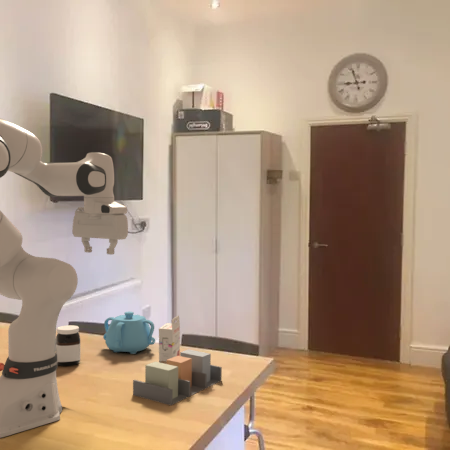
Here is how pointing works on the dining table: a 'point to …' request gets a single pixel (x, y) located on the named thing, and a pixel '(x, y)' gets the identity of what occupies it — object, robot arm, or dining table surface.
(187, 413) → the dining table surface
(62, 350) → the spread jar
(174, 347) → the ink cartridge box
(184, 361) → the terracotta plug
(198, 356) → the blue-grey block
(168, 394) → the slot rack
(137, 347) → the decorative pot
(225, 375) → the dining table surface
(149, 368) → the sage block
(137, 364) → the dining table surface
